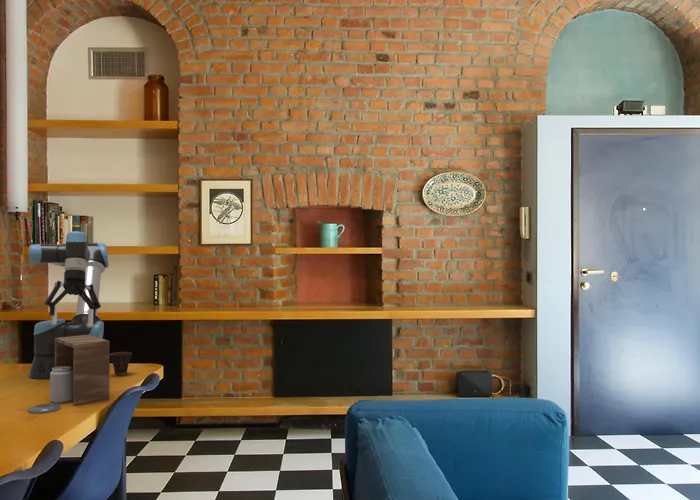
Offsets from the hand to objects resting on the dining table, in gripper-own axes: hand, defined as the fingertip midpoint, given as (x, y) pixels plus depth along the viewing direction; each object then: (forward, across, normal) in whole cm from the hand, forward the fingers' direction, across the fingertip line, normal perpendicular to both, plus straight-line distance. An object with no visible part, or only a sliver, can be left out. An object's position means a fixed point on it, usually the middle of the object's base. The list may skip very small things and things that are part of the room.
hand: (72, 325), depth 228 cm
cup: (+17, +29, +18) cm, 38 cm away
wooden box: (+27, +2, -5) cm, 28 cm away
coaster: (+31, -12, -11) cm, 35 cm away
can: (+28, -4, -4) cm, 29 cm away
